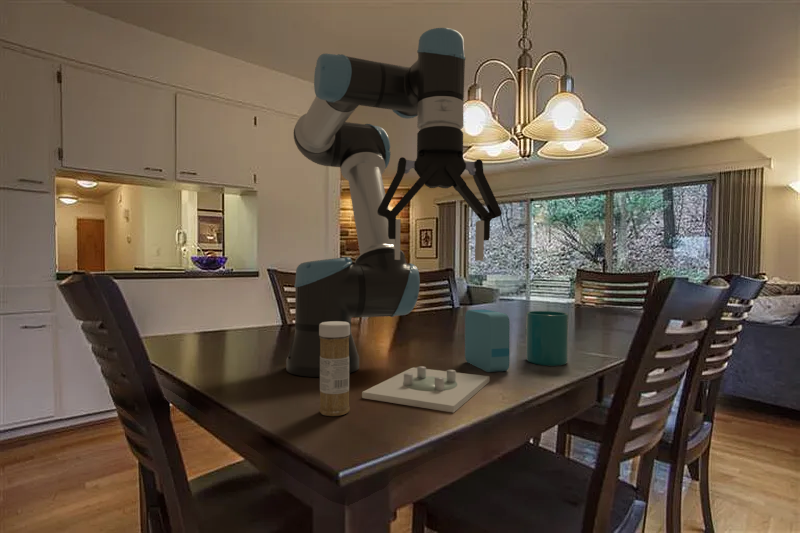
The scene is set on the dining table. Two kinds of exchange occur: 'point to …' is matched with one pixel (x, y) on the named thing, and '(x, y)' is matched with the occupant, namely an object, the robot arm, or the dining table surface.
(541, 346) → the cup
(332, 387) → the sprinkles bottle
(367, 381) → the dining table surface
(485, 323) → the data package
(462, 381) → the pin tray
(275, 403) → the dining table surface
